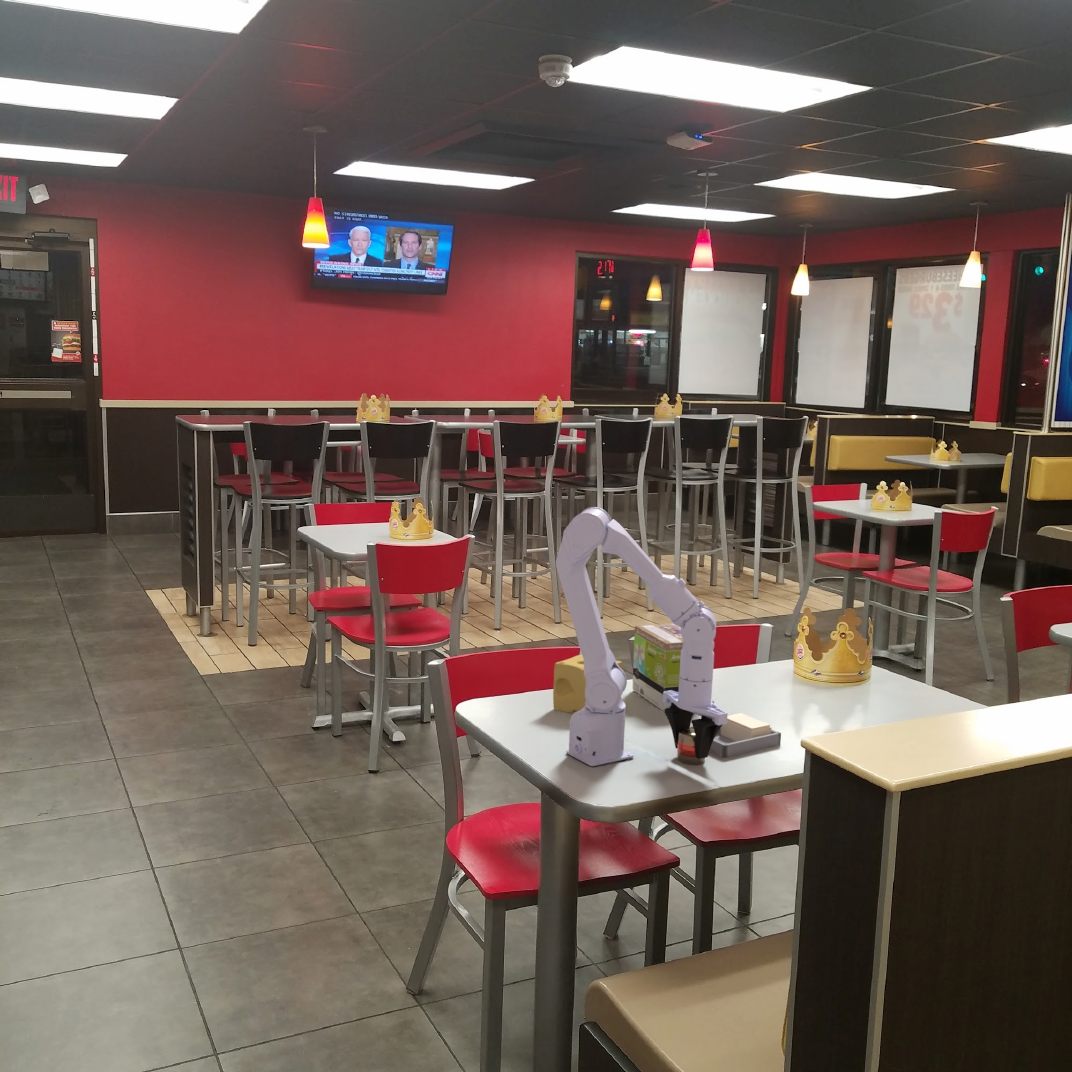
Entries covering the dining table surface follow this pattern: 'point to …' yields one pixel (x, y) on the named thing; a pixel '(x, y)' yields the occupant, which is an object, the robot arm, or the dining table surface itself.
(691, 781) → the dining table surface
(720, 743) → the tray
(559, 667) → the cheese
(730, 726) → the cream rectangular block
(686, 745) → the tin
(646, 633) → the tea box
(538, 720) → the dining table surface
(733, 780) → the dining table surface
